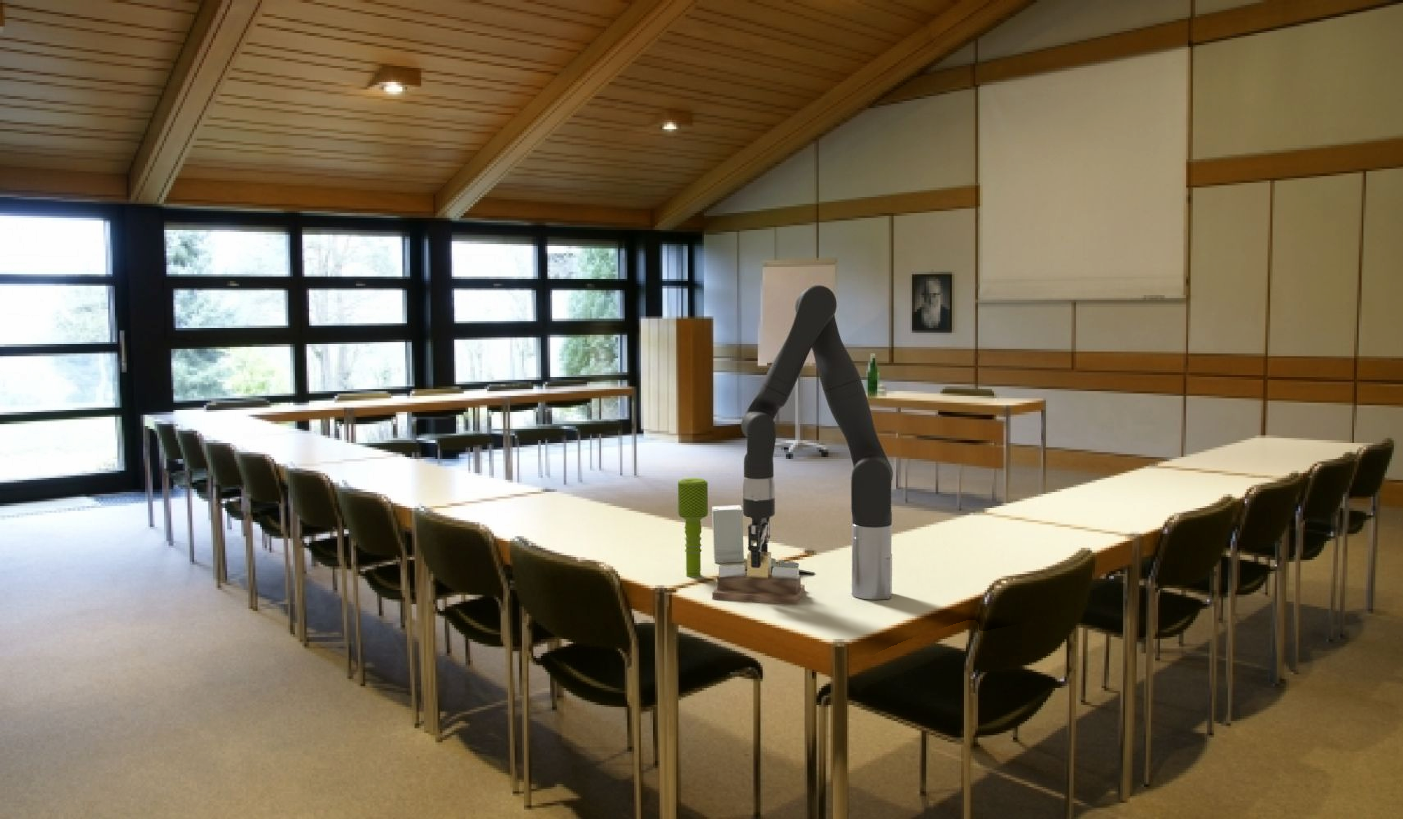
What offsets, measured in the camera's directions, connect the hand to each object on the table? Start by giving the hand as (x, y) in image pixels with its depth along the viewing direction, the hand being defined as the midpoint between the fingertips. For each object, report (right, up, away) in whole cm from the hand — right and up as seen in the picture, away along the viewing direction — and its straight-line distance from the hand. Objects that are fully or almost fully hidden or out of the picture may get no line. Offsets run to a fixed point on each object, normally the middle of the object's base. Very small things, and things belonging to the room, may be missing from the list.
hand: (759, 563), depth 241 cm
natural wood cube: (0, -3, +1) cm, 3 cm away
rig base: (0, -8, +1) cm, 8 cm away
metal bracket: (+6, -7, +21) cm, 22 cm away
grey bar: (0, -3, 0) cm, 3 cm away
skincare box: (-7, -5, +35) cm, 36 cm away
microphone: (-16, -6, +20) cm, 26 cm away
